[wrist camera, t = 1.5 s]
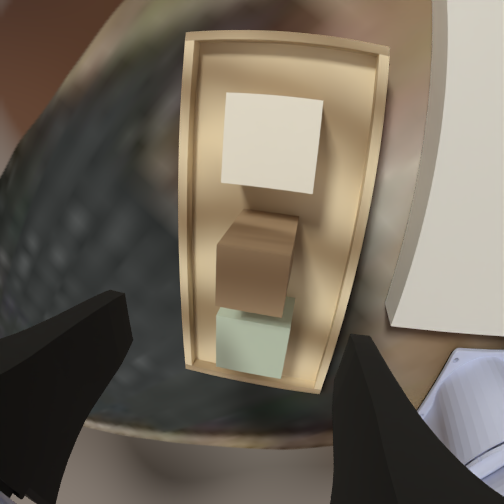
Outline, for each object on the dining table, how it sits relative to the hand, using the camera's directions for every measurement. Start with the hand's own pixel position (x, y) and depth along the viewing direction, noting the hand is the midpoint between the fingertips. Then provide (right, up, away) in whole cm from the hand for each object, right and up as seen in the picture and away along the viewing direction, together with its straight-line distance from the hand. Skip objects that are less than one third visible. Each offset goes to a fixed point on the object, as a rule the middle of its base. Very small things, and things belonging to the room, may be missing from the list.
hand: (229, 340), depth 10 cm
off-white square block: (+2, +9, +6) cm, 10 cm away
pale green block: (+1, -2, +11) cm, 11 cm away
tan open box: (+2, +4, +10) cm, 11 cm away
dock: (+18, +10, +3) cm, 21 cm away
